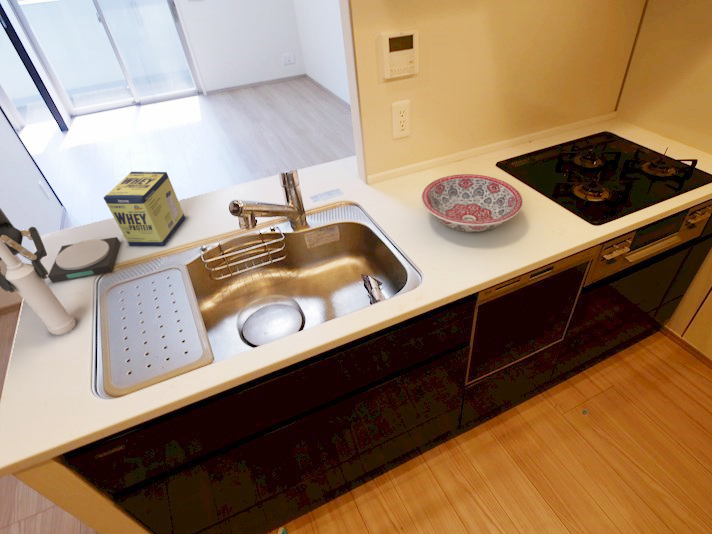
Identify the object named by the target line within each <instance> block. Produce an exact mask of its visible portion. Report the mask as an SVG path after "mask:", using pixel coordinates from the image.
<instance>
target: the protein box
mask: <svg viewBox="0 0 712 534" xmlns="http://www.w3.org/2000/svg"><path fill="white" fill-rule="evenodd" d="M103 200H104V202H105V203H106V205H107V207H108V209H109V211H110V213H111V215H112V216H113V218H114V221H115V222H116V224H117V225H118V227H119V229H120V231H121V233H122V235H123V237H124V238H125V240H126V242H127V244H128V246H130V247H131V246H133V247H134V246H136V247H137V246H139V247H140V246H141V247H142V246H143V247H165V246H166V244H167V243H168V242H169V240H170V239H171V237H172V236H173V235H174V234H175V232H176V231H177V229H179V227H180V225H181V224H183V222H184V220H185V219H186V216H185V214H184V211H183V209H182V207H181V204H180V201H179V199H178V197H177V194H176V192H175V190H174V187H173V185H172V182H171V180H170V177H169V174H168V173H167V171H131V172H129V173H128V175H126V176H125V177H124V178H123V179H122V180H121V181H120V182H119V183H118V184H117V185H115V187H113V188H112V189H111V190H110V191H109V192H108V193H107V194H106V195H104V196H103Z"/></svg>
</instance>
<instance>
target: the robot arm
mask: <svg viewBox="0 0 712 534" xmlns="http://www.w3.org/2000/svg"><path fill="white" fill-rule="evenodd" d="M24 237H26V238H27V239H28V240H29V241H33V244H34V247H35V249H36V251H35V252H34V253H33V252H31V251H30V250H29V249H27V248H26V247H24V246H22V245H23V239H24ZM0 238H1V239H2V241H3V242H4V244H5V245H6V246H7V247H8V249H9V250H10V251H11V252H12V254H13V255H14V256H17V255H20V256H22V257H23V258H25V259H27V260H28V261H30V264H32V265H33V266H34V267H35V269H36V270H37V271H38V273H39V274H40V276H41V277H42V278H43V279H44V280H46V279H48V275H49V272H48V270H47V269H46V267H45V266H44V264H43V263H42V262H41V261H42V259H43V258H45V257H47V255H48V253H47V250H46V248H45V245H44V243H43V240H42V238H41V234H40V232H39V231H38V229H37V227H35V226H31V227H29V228H28V229H23V230H20V229H19V228H16V227H15V226H14V224H13V223H12V222H11V220H9V218H8V217H7V215H6V214H5V213H4V211H3V210H2V208H1V207H0ZM1 261H3V260H2V259H1V257H0V288H1V289H2V290H3V291H5V292H10V293H11V294H13V293H15V292H16V290H15V289H14V288H13V286H12V285H11V284H10V283H9V282H8V281H7V280H6V278H5V277H4V275H5V274H3V273H2V263H1Z"/></svg>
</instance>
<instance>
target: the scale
mask: <svg viewBox="0 0 712 534" xmlns="http://www.w3.org/2000/svg"><path fill="white" fill-rule="evenodd" d="M120 246H121V242H120V239H119V238H118V236H115V237H108V238H103V239H88V240H82V241H79V242H77V243H76V242H75V243H72V244H65V245H61V247H60V250H59V251H58V254H57V256H56V258H55V260H54V262H53V264H52V266H51V268H50V270H49V272H48V275H47V278H48V279H49V281H50V282H51V283H52V284H53V283H59V282H66V281H69V280H75V279H76V280H77V279H80V278H87V277H93V276H97V275H103V274H109V273H112V272H113V269H114V267H115V263H116V259H117V256H118V253H119V249H120Z"/></svg>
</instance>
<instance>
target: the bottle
mask: <svg viewBox="0 0 712 534" xmlns="http://www.w3.org/2000/svg"><path fill="white" fill-rule="evenodd" d="M0 257H1V259H2V260H1V261H3V263H4V264H5V265H6V267H5V268H6V271H5V273H4V274H3V275H4V277H5V278H6V280H7V281H8V282H9V283H10V284H11V286H12V287H13V288H14V290H15V292H16V293H18V295H19V296H20V297H21V298H22V300H24V301H25V302H26V304H27V305H28V306H29V307H30V309H32V310H33V312H34V313H35V314H36V316H38V317H39V318H40V320H41V321H42V322H43V323H44V325H46V329H47V330H48V331H49V332H50V333H51V334H53V335H55V336H60V335H64V334H67V333H69V332H71V331H72V330H73V329H74V328H75V326H76V319H75V318H74V316H72V315H71V314H69V312H68V311H67V310H66V308H65V307H64V305H63V304H62V303H61V301H60V300H59V299H58V297H57V296H56V295H55V293H54V292H53V291H52V289H51V288H50V286H49V285H48V284H47V282H46V281H45V279H43V278H42V277H41V276H40V274H39V273H38V271H37V270H36V269H35V267H34V266H33V265H32V263H25V262H22V261H20V260H18V259H17V258H16V255H13V254H12V252H11V251H10V250H9V249H8V247H7V246H6V245H5V244H4V242H3V241H2V239H1V238H0Z"/></svg>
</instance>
